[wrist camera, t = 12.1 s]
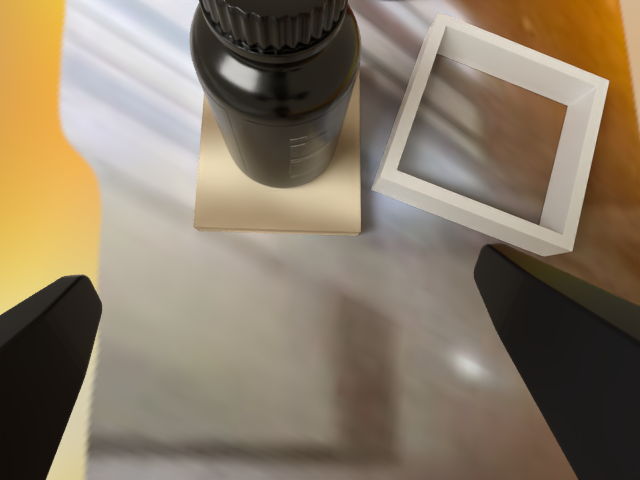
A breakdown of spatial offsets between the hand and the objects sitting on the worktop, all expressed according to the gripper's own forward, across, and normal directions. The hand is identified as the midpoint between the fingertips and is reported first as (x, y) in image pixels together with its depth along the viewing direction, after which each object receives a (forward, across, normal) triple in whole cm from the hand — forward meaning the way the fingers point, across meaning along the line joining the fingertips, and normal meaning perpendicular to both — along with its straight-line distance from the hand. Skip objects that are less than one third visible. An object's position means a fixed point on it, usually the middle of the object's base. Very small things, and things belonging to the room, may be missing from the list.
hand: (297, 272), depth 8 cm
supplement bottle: (+16, 0, +2) cm, 16 cm away
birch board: (+16, 0, +3) cm, 17 cm away
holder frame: (+16, -14, +3) cm, 22 cm away
